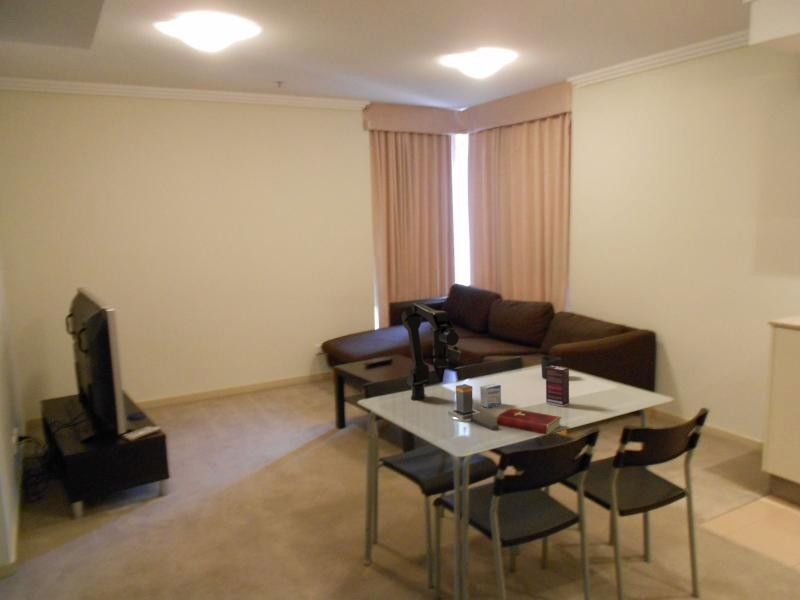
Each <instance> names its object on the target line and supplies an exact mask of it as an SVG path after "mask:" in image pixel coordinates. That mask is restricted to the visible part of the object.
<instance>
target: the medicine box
mask: <svg viewBox="0 0 800 600" xmlns="http://www.w3.org/2000/svg"><path fill="white" fill-rule="evenodd" d="M479 387H480V389H479V391H480V394H479V395H480V406H481V407H483V406H484V408H486V407H487V409H490V408H493V406H494V407H497V406H500V404H501V405H502V387H501V385H500V384H498V383H490V384H486V385H481V386H479ZM496 405H497V406H496ZM489 407H490V408H489Z"/></svg>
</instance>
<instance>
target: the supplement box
mask: <svg viewBox="0 0 800 600" xmlns="http://www.w3.org/2000/svg"><path fill="white" fill-rule="evenodd" d="M545 399H546V401H545V403H546V404H547V405H551V406H552V405H553V406H556V407H561V408H562V407H563V408H565V407H567V406H569V405H570V368H569V367H563V366H561V367H558V366H548V367H546V379H545Z"/></svg>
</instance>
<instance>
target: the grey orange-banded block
mask: <svg viewBox="0 0 800 600" xmlns="http://www.w3.org/2000/svg"><path fill="white" fill-rule="evenodd" d="M455 396H456V397H455V401H456V406H455V407H456V408H455V409H456V413H458V414H460V415H467V414H471V413H473V409H474V408H473V385H470V384H465V383H464V384H459V385H456V386H455Z"/></svg>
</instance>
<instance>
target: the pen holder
mask: <svg viewBox="0 0 800 600" xmlns="http://www.w3.org/2000/svg"><path fill="white" fill-rule="evenodd" d="M540 359H541V360H540V361H541V362H540V363H541V378H542V379H544V380H546V367H548V366H558V367H562V366H561V365H562V364H561V362H562V357H559V356H555V357H550V356H546V355H545V356H542V357H540Z"/></svg>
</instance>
